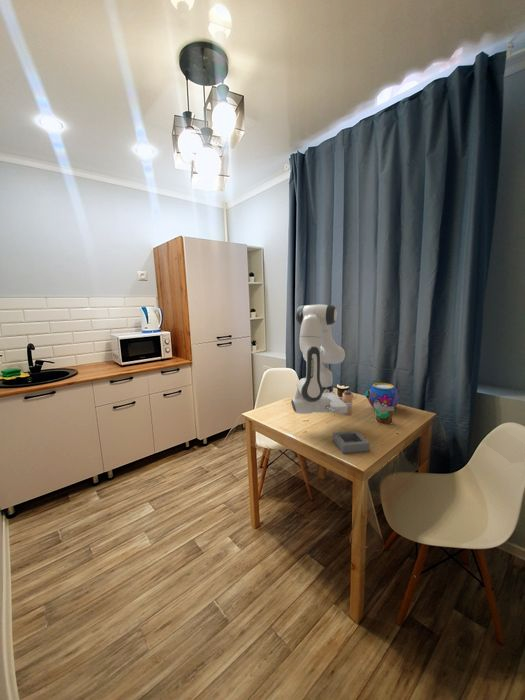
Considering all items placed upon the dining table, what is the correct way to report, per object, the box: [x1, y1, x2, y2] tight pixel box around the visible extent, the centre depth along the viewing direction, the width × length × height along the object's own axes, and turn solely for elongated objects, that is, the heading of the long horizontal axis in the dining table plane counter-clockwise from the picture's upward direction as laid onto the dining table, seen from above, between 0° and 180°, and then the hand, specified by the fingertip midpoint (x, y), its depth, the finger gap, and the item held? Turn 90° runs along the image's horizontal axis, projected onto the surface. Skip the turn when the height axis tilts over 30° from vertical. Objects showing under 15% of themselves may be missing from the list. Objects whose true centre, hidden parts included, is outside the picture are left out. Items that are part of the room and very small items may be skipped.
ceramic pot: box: [365, 382, 400, 409], centre depth 166 cm, size 18×18×15 cm
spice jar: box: [341, 389, 354, 417], centre depth 142 cm, size 5×5×12 cm
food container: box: [373, 400, 395, 425], centre depth 149 cm, size 12×6×10 cm, turn 19°
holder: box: [332, 430, 370, 455], centre depth 126 cm, size 12×12×4 cm
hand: (349, 401), depth 142 cm, fingers closed on spice jar, 5 cm apart
